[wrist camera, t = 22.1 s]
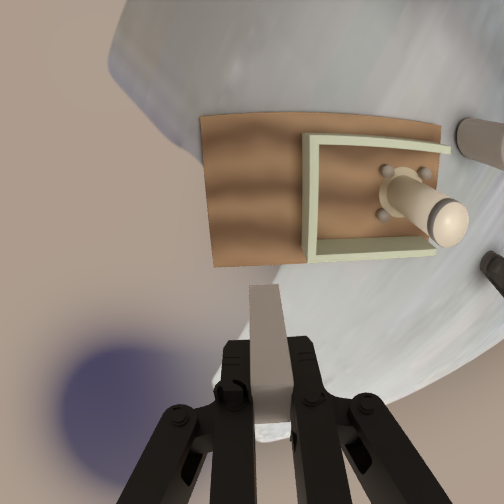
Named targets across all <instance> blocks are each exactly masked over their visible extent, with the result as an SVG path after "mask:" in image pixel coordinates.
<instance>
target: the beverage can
mask: <svg viewBox="0 0 504 504" xmlns="http://www.w3.org/2000/svg"><path fill="white" fill-rule="evenodd" d="M457 143H458V147H459V149H460V151H461V152H462V154H463V155H464V156H465V157H467V158H470V159H473V160H476V161H479V162H482V163H484V164H487V165H490V166H493V167H495V168H498V169H501V170H503V171H504V124H503V123H497V122H492V121H486V120H480V119H474V118H467V119H465V120H463V121H462V122H461V123H460V125H459V127H458V131H457Z"/></svg>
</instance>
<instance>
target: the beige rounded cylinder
mask: <svg viewBox="0 0 504 504" xmlns="http://www.w3.org/2000/svg"><path fill="white" fill-rule="evenodd" d="M387 200H388V202H389V204H390V206H391V207H393V208H394V209H395V210H396V211H398V212H399V213H400V214H402V215H403V216H404V217H406V218H407V219H408V220H410V221H411V222H412V223H413V224H415V225H416V226H417V227H418V228H420V229H421V230H422V231H423V232H425V233H426V234H427V235H428V236H429V237H431V239H432V240H434V241H435V242H436V243H437V244H438V245H440V246H442V247H451V246H454V245H455V244H457V243H458V242H459V241H460V240H461V239H462V238H463V236H464V235H465V233H466V230H467V227H468V222H469V217H468V212H467V210H466V208H465V206H464V205H463V204H462V203H460V202H458V201H456V200H455V199H452V198H450V197H448V196H446V195H444V194H443V193H441V192H439V191H437V190H435V189H433V188H431V187H429V186H427V185H425V184H423V183H421V182H419V181H417V180H415V179H413V178H411V177H409V176H406V175H400V176H397V177H395V178H394V179H393V180H392V181H391V182H390V184H389V186H388V189H387Z"/></svg>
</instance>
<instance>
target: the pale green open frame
mask: <svg viewBox="0 0 504 504" xmlns="http://www.w3.org/2000/svg"><path fill="white" fill-rule="evenodd" d="M319 144H325V145H355V146H373V147H387V148H399V149H410V150H420V151H428V152H436V153H444V154H451V147H450V146H447V145H443V144H439V143H435V142H431V141H423V140H415V139H407V138H397V137H387V136H375V135H361V134H343V133H302V245H301V247H302V250H303V253H304V255H305V258H306V261H307V263H320V262H339V261H356V260H373V259H390V258H406V257H421V256H435V255H436V251H437V249H436V248H435V247H434V246H433V245H432V244H431V243H429V242H428V241H427V240H426V239H425V238H424V237H422V236H403V237H374V238H347V239H322V240H317V222H318V189H319Z"/></svg>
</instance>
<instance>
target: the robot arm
mask: <svg viewBox="0 0 504 504" xmlns="http://www.w3.org/2000/svg"><path fill="white" fill-rule="evenodd" d="M249 302H250V340H229V341H228V342H227V344H226V345H225V347H224V349H223V359H222V370H221V381H219V382H218V383H217V384H216V385H215V388H214V390H213V392H214V396H215V401H214V402H213V403H211V404H209V405H207V406H204V407H200V408H196V409H193V408H192V407H190V406H187V405H182V404H178V405H173V406H171V407H169V408H168V409H167V410H166V411H165V412H164V413H163V415H162V417H161V419H160V421H159V423H158V424H157V426H156V428H155V430H154V432H153V434H152V436H151V438H150V440H149V442H148V444H147V446H146V447H145V450H144V451H143V453H142V455H141V458H140V459H139V461H138V463H137V465H136V467H135V469H134V470H133V473H132V475H131V476H130V478H129V480H128V482H127V484H126V486H125V488H124V490H123V492H122V494H121V496H120V497H119V499H118V501H117V503H116V504H188V502H189V499H190V497H191V494H192V492H193V489H194V486H195V484H196V481H197V479H198V476H199V474H200V471H201V469H202V466H203V463H204V461H205V458H206V456H207V453H208V452H212V451H213V457H212V472H211V488H210V504H257V490H256V489H257V487H256V453H255V428H254V424H263V423H280V422H290V419H291V435H290V441H292V450H293V459H294V469H295V479H296V488H297V498H298V504H352V500H351V495H350V489H349V484H348V479H347V474H346V469H345V464H344V459H343V455H342V450H343V452H344V454H345V456H346V458H347V459H348V461H349V463H350V465H351V467H352V469H353V470H354V472H355V474H356V476H357V478H358V480H359V482H360V483H361V485H362V487H363V489H364V491H365V493H366V494H367V496H368V498H369V500H370V502H371V504H452V502H451V501H450V499H449V498H448V496H447V495H446V493H445V492H444V490H443V488H442V487H441V485H440V484H439V482H438V481H437V480H436V478H435V477H434V475H433V474H432V472H431V471H430V469H429V468H428V466H427V465H426V463H425V462H424V460H423V459H422V457H421V456H420V455H419V453H418V451H417V450H416V449H415V447H414V446H413V444H412V443H411V441H410V440H409V438H408V437H407V435H406V434H405V433H404V431H403V430H402V428H401V427H400V425H399V424H398V422H397V421H396V420H395V418H394V417H393V415H392V414H391V412H390V411H389V410H388V408H387V407H386V405H385V404H384V402H383V401H382V400H381V399H380V398H379V397H378V396H377V395H375V394H372V393H361V394H358V395H356V396H355V397H354V398H353V399H346V398H339V397H335V396H333V395H331V394H330V393H328V392H327V391H326V389H325V388H324V386H323V383H322V378H321V374H320V370H319V366H318V362H317V358H316V354H315V350H314V346H313V343H312V341H311V340H310V339H309V338H308V337H307V336H296V337H287V335H286V329H285V323H284V317H283V310H282V304H281V298H280V292H279V286H278V284H270V285H251V286H249ZM341 448H342V450H341Z"/></svg>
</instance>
